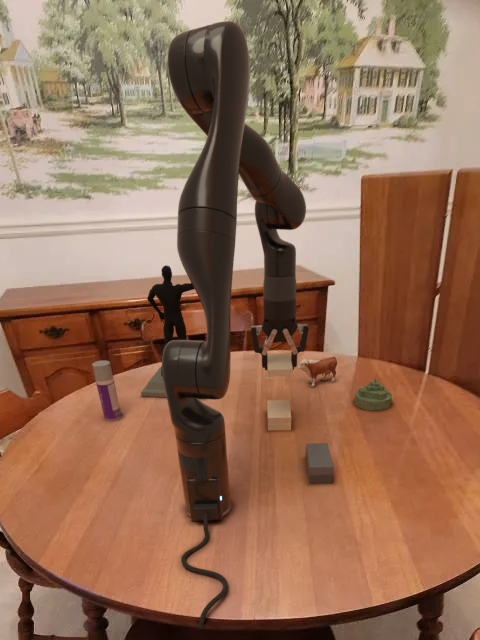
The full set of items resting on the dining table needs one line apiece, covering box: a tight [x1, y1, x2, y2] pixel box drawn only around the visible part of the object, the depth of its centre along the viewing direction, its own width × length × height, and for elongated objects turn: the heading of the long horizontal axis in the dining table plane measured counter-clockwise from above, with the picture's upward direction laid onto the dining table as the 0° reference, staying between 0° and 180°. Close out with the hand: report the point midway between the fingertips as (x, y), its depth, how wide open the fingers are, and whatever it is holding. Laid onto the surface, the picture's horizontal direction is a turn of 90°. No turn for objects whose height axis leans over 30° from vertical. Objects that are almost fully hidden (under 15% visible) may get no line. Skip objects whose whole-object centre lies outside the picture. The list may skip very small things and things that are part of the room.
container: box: [91, 359, 122, 422], centre depth 131 cm, size 5×5×15 cm
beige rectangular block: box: [266, 353, 294, 378], centre depth 122 cm, size 11×6×2 cm, turn 0°
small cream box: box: [266, 399, 292, 432], centre depth 130 cm, size 11×6×4 cm, turn 0°
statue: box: [140, 264, 195, 398], centre depth 142 cm, size 20×19×36 cm
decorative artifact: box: [354, 378, 393, 412], centre depth 137 cm, size 10×7×10 cm
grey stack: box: [304, 442, 334, 485], centre depth 110 cm, size 11×5×4 cm, turn 0°
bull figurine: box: [296, 356, 338, 388], centre depth 149 cm, size 4×13×8 cm, turn 115°
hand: (279, 368), depth 122 cm, fingers closed on beige rectangular block, 6 cm apart
